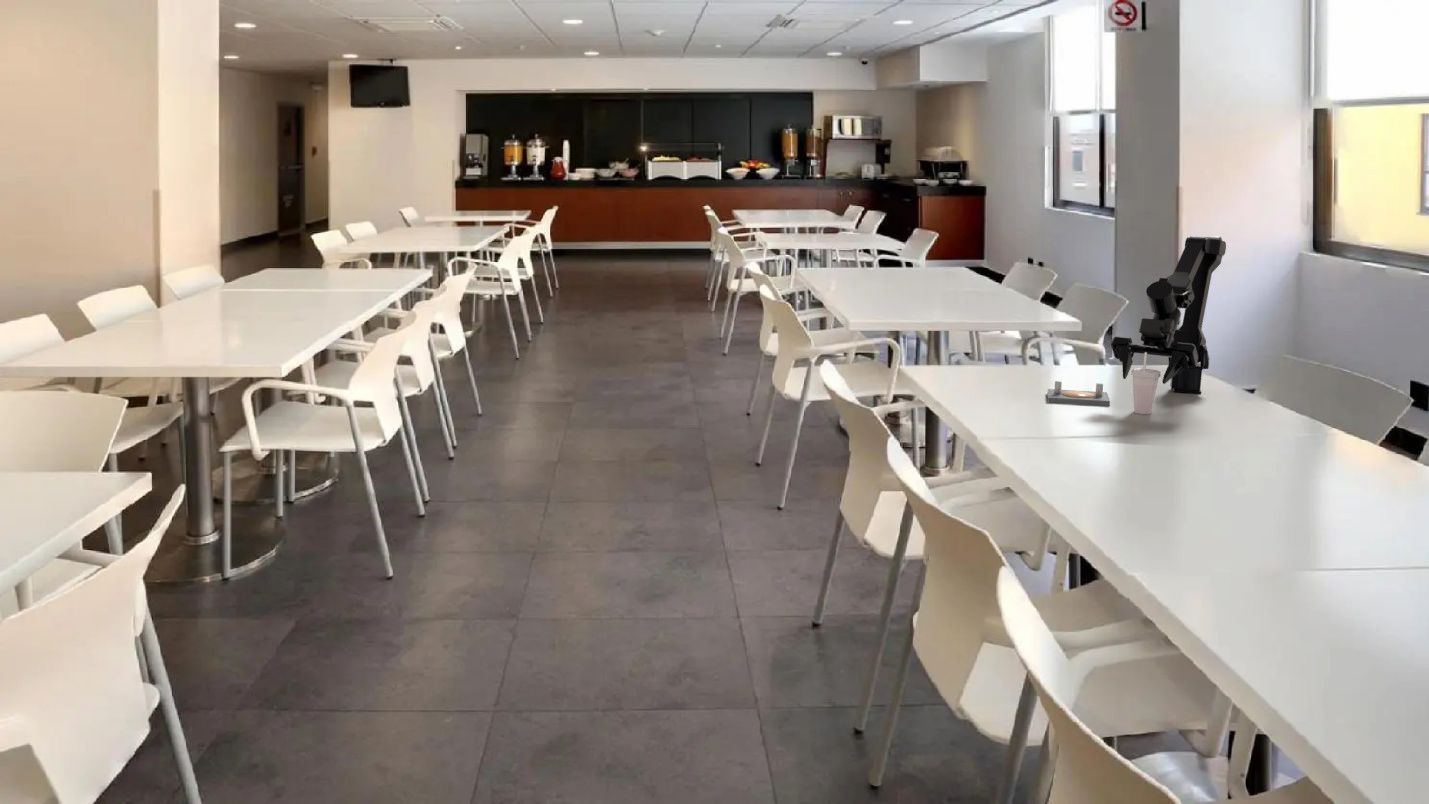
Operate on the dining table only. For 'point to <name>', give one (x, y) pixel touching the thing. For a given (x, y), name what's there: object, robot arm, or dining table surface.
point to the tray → (1078, 396)
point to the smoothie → (1144, 388)
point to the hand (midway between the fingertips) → (1143, 380)
